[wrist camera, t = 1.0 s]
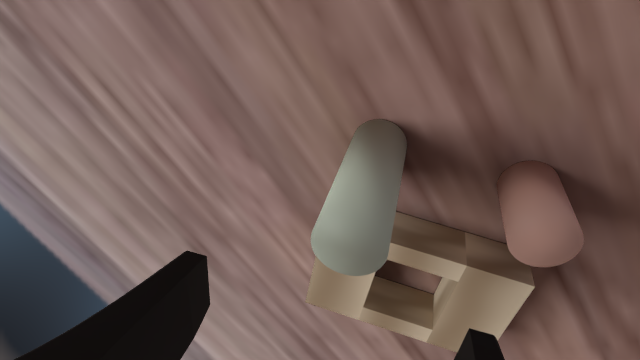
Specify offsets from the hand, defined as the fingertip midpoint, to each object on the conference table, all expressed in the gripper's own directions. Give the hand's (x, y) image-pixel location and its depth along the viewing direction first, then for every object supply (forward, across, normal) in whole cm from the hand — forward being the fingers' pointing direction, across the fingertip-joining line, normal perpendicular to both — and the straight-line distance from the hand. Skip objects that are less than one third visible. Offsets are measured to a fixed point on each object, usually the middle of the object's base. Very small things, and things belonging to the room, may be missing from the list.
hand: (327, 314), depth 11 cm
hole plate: (+10, -3, +7) cm, 13 cm away
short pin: (+10, -7, 0) cm, 13 cm away
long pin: (+10, 0, 0) cm, 10 cm away
